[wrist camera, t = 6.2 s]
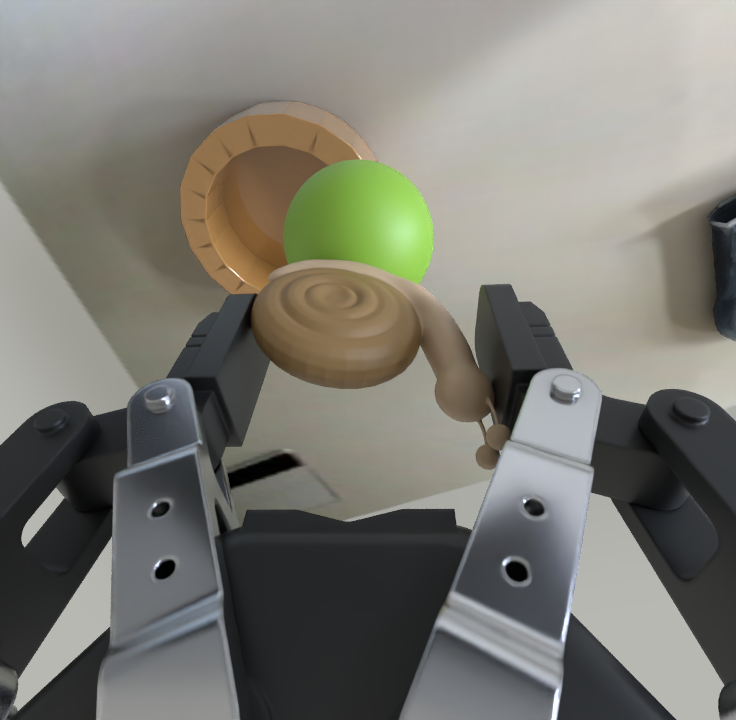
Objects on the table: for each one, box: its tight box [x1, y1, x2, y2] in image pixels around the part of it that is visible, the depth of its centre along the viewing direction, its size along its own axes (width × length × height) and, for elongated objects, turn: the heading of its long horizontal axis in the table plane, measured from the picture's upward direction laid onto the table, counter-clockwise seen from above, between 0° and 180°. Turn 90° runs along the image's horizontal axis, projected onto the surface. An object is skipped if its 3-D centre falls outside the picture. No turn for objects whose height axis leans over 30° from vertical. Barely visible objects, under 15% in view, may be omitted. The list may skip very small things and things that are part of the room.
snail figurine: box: [251, 159, 511, 470], centre depth 14 cm, size 5×6×12 cm
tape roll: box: [180, 101, 378, 294], centre depth 33 cm, size 15×15×4 cm
